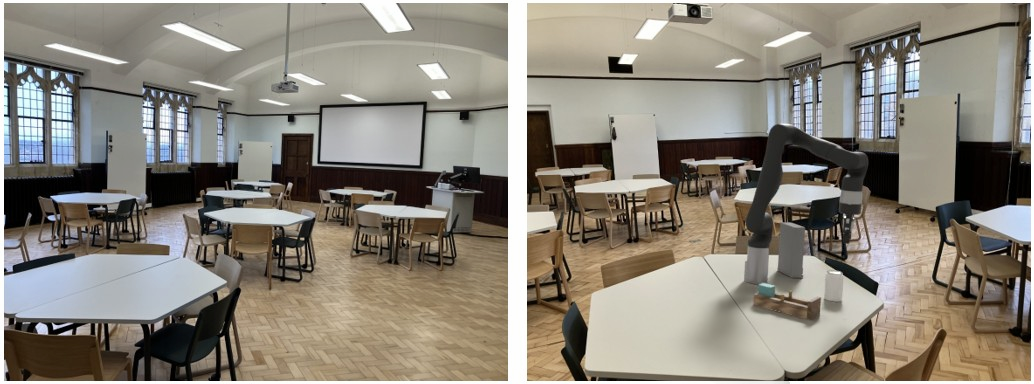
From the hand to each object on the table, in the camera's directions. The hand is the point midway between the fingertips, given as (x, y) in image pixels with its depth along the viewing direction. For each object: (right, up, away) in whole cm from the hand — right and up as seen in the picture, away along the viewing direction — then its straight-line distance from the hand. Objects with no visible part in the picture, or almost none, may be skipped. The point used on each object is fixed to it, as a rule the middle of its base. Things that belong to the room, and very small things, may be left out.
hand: (846, 241), depth 210 cm
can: (+1, -26, +10) cm, 28 cm away
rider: (-31, -24, +4) cm, 39 cm away
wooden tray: (-26, -27, -2) cm, 38 cm away
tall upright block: (+3, -21, +49) cm, 53 cm away
